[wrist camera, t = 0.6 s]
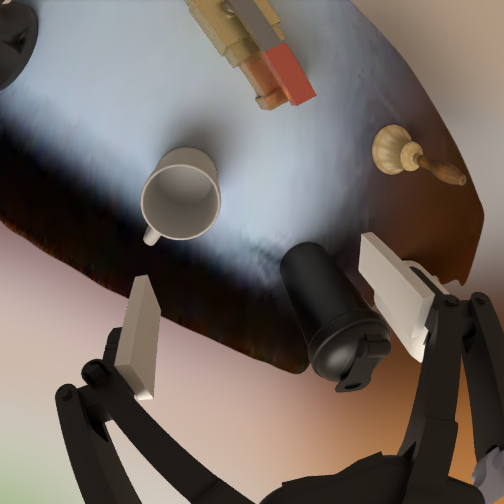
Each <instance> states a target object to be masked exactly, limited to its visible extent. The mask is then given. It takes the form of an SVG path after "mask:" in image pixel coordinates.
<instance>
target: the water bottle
mask: <svg viewBox="0 0 504 504" xmlns="http://www.w3.org/2000/svg"><path fill="white" fill-rule="evenodd" d="M280 273H281V276H282V278H283V281H284V284H285V286H286V289H287V292H288V294H289V297H290V300H291V302H292V305H293V308H294V311H295V313H296V316H297V319H298V321H299V324H300V327H301V330H302V332H303V335H304V338H305V341H306V343H307V346H308V356H309V360H310V362H311V365H312V368H313V370H314V371H315V373H316V374H317V375H319V376H321V377H323V378H325V379H327V380H329V381H333V382H339V384H338V385H337V386H336V388H335V391H336V392H350V391H357V390H361V389H363V388H364V387H366V386H367V385H368V384H369V382H370V381H371V374H372V372H373V370H374V368H376V367H377V366H378V365H379V363H380V362H381V361H382V360H383V358H384V357H385V356H387V355H388V354H389V352H390V350H391V344H390V342H389V340H390V329H389V327H388V325H387V324H386V322H385V321H384V319H383V318H382V317H381V315H380V314H378V313H377V312H375V311H373V309H372V308H371V307H370V305H369V304H368V303H367V302H366V300H365V299H364V298H363V296H362V295H361V294H360V293H359V291H358V290H357V289H356V287H355V286H354V285H353V284H352V282H351V281H350V280H349V279H348V277H347V276H346V275H345V274H344V272H343V271H342V270H341V269H340V267H339V266H338V265H337V264H336V263H335V261H334V260H333V259H332V258H331V256H330V255H329V254H328V253H327V252H326V250H325V249H324V248H323V247H322V246H320V245H318V244H316V243H310V242H308V243H302V244H299V245H296V246H294V247H293V248H291V249H290V250H289V251H288V252H287V253H286V254H285V255H284V257H283V259H282V261H281V264H280Z"/></svg>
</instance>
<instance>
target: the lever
mask: <svg viewBox="0 0 504 504" xmlns="http://www.w3.org/2000/svg"><path fill="white" fill-rule="evenodd" d="M224 10H225V11H226V12H227V13H228V14H230V15H236V16H237V17H238V18H239V20H240V21H241V23H242V24H243V25H244V27H245V28H246V30H247V31H248V33H249V34H250V35H251V37H252V38H253V40H254V41H255V43H256V44H257V46H258V47H259V49H260V50H261V52H262V53H263V54H261V56H262V57H263V59H264V61H265V62H266V64H267V65H268V67H269V68H270V70H271V72H272V73H273V75H274V76H275V78H276V80H277V81H278V83H279V85H280V86H281V88H282V90H283V91H284V93H285V95H286V96H287V98H288V100H289V101H290V103H291V105H294V106H297V105H299V104H301V103H303V102H305V101H307V100H309V99H311V98H313V97H315V96H317V95H316V93H315V92H314V90H313V88H312V86H311V84H310V83H309V81H308V79H307V77H306V76H305V74H304V72H303V70H302V69H301V67H300V65H299V64H298V62H297V60H296V59H295V57H294V55H293V54H292V52H291V51H290V49H289V47H288V46H287V44H286V43H283V42H282V41H281V39H280V38H279V36H278V35H277V33H276V32H275V30H274V29H273V27H272V26H271V24H270V23H269V21H268V20H267V18H266V17H265V16H264V14H263V13H262V11H261V10H260V9H259V7H258V6H257V4H256V3H255V2H254V0H225V2H224Z"/></svg>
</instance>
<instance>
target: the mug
mask: <svg viewBox="0 0 504 504" xmlns="http://www.w3.org/2000/svg"><path fill="white" fill-rule="evenodd" d="M220 206H221V195H220V190H219V184H218V178H217V171H216V167H215V165H214V163H213V161H212V160H211V158H210V157H209V156H208V155H207V154H205V153H204V152H202V151H200V150H198V149H195V148H190V147H183V148H177V149H175V150H172V151H171V152H169V153H167V154H166V155H165V156H164V157H163V158H162V159H161V160H160V162H159V163H158V165H157V167H156V168H155V169H154V171H153V172H152V174H151V175H150V177H149V178H148V180H147V181H146V183H145V185H144V187H143V190H142V194H141V209H142V213H143V216H144V218H145V220H146V221H147V223H148V224H149V226H148V228H147V230H146V232H145V235H144V241H145V243H146V244H148V245H151V246H152V245H154V244H155V243H156V242H157V240H158V239H159V238H160V236H161V235H162V236H164V237H167V238H170V239H175V240H187V239H192V238H195V237H197V236H199V235H201V234H203V233H204V232H206V231H207V230H208V229H209V228H210V227H211V226H212V225H213V223H214V222H215V221H216V219H217V217H218V214H219V211H220Z"/></svg>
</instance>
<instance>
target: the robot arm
mask: <svg viewBox="0 0 504 504" xmlns="http://www.w3.org/2000/svg"><path fill="white" fill-rule="evenodd" d="M4 1H5V0H0V91H1V90H3V89H4V88H6V87H7V86H9V85H10V84H11V83H12V82H13V81H14V80H15V79H16V78H17V77H18V75H19V74H20V73H21V72H22V70H23V69H24V67H25V65H26V64H27V62H28V60H29V58H30V56H31V54H32V52H33V49H34V46H35V43H36V39H37V33H38V21H37V17H36V14H35V12H34V11H33V10H32V9H31V8H30V7H28V6H26V5H24V4H21V3H8V4H2V3H3V2H4ZM359 272H360V273H361V274H362V275H363V277H364V278H365V279H366V280H367V282H368V283H369V284H370V285H371V287H372V288H373V289H374V291H375V292H376V293H377V294H378V296H379V297H380V298H381V300H382V301H383V302H384V304H385V305H386V306H387V307H388V309H389V310H390V311H391V313H392V314H393V315H394V317H395V318H396V319H397V321H398V322H399V324H400V325H401V326H402V328H403V329H404V330H405V332H406V333H407V335H408V336H409V337H410V339H411V338H414V337H416V336H418V335H421V334H422V332H423V329H424V326H425V327H426V328H427V330H428V333H427V335H426V338H425V340H424V343H423V345H425V349H424V355H423V361H422V367H421V373H420V377H419V383H418V387H417V392H416V396H415V400H414V405H413V408H412V413H411V416H410V420H409V424H408V427H407V431H406V434H405V437H404V440H403V443H402V445H401V447H400V449H399V451H398V453H397V455H384V456H383V455H382V452H378V453H376V454H373V455H371V456H368V457H366V458H363V459H360V460H358V461H357V462H355V463H353V464H352V465H350V466H349V467H347V468H345V469H344V470H342V471H341V472H339V473H337V474H334V475H325V476H307V477H303V478H299V479H295V480H291V481H287V482H282V487H280V488H278V489H276V490H274V491H273V492H271V493H270V494H269V495H267V496H266V497H265V498H264V499H263V500H262V501H261V502H260V503H259V504H493V503H494V502H495V501H497V500H499V499H500V498H501V497H503V496H504V333H503V330H502V327H501V325H500V322H499V320H498V317H497V315H496V312H495V310H494V308H493V305H492V303H491V300H490V299H489V297H488V296H487V295H485V294H484V293H481V292H474V293H473V294H472V296H471V298H470V300H462V301H460V300H459V299H458V298H457V297H455V296H454V295H451V294H444V293H443V292H442V291H441V290H440V289H439V288H438V287H437V286H436V285H435V284H434V283H433V282H432V281H430V279H429V278H428V277H427V276H426V275H425V274H424V273H423V272H422V271H421V270H419V269H417V268H416V267H414V266H411V267H408V266H407V265H406V264H405V263H404V262H403V261H402V260H401V259H400V258H399V257H398V256H397V255H396V254H395V253H394V252H393V251H392V250H391V249H390V248H389V247H387V246H386V245H385V244H384V243H383V242H382V241H381V240H380V239H379V238H378V237H377V236H376V235H375V234H374V233H372V232H369V233H364V234H361V248H360V260H359ZM160 313H161V309H160V307H159V304H158V302H157V299H156V297H155V294H154V292H153V289H152V286H151V284H150V281H149V278H148V276H147V275H144V276H138V277H135V280H134V284H133V287H132V291H131V295H130V299H129V303H128V306H127V310H126V314H125V318H124V323H123V327H119V328H113V330H112V331H111V332H110V334H109V336H108V339H107V345H106V347H105V351H104V355H103V359H102V360H101V359H94V360H91V361H89V362H88V363H86V364H85V365H84V367H83V369H82V372H81V375H82V378H83V380H84V381H85V382H86V383H87V384H88V385H86V386H83V387H81V388H76V387H75V386H74V385H72V384H64V385H62V386H61V387H60V388H59V389H58V390H57V392H56V395H55V400H56V407H57V412H58V416H59V421H60V425H61V430H62V434H63V438H64V441H65V445H66V449H67V452H68V456H69V459H70V462H71V466H72V469H73V471H74V474H75V478H76V480H77V483H78V486H79V489H80V491H81V494H82V497H83V499H84V501H85V504H142V502H141V501H140V499H139V497H138V495H137V493H136V492H135V490H134V488H133V486H132V484H131V482H130V480H129V478H128V476H127V474H126V472H125V470H124V467H123V465H122V463H121V461H120V459H119V456H118V454H117V452H116V450H115V447H114V445H113V442H112V440H111V438H110V435H109V433H108V430H107V427H106V425H105V422H107V421H110V420H114V421H115V422H116V424H117V425H118V426H119V428H120V429H121V430H122V431H123V433H124V434H125V435H126V436H127V437H128V439H129V440H130V441H131V442H132V443H133V445H134V446H135V447H136V448H137V449H138V450H139V451H140V453H141V454H142V455H143V456H144V457H145V458H146V459H147V460H148V461H149V463H150V464H151V465H152V466H153V467H154V468H155V469H156V470H157V471H158V472H159V473H160V474H161V475H162V476H163V477H164V478H165V479H166V480H167V481H168V482H169V483H170V484H171V485H172V486H173V487H174V488H175V489H176V490H177V491H179V492H180V494H182V495H183V496H184V497H185V498H186V499H187V500H188V501H189V502H190V503H191V504H255V503H254V502H252V501H251V500H249V499H248V498H246V497H245V496H243V495H242V494H241V493H239V492H238V491H236V490H235V489H234V488H232V487H231V486H230V485H228V484H227V483H226V482H224V481H223V480H221V479H220V478H218V477H217V476H216V475H214V474H213V473H212V472H210V471H209V470H208V469H207V468H206V467H204V466H203V465H202V464H201V463H200V462H198V461H197V460H196V459H195V458H194V457H193V456H192V455H190V454H189V453H188V452H187V451H186V450H185V449H184V448H182V447H181V446H180V445H179V444H178V443H177V442H176V441H175V440H174V439H173V438H172V437H171V436H170V435H169V434H168V433H167V432H166V431H165V430H163V428H161V426H160V425H159V424H158V423H157V422H156V421H155V420H154V419H153V418H152V417H151V416H150V415H149V414H148V413H147V412H146V411H145V410H144V409H143V408H142V407H141V406H140V404H139V403H138V402H137V401H136V400H135V399H134V394H135V395H136V396H137V398H138V399H139V400H143V399H144V400H145V399H153V398H154V381H155V366H156V354H157V342H158V332H159V322H160ZM461 354H462V359H463V364H464V369H465V374H466V380H467V385H468V392H469V399H470V406H471V415H472V424H473V436H474V448H475V455H476V460H477V464H476V466H475V470H474V472H473V474H472V480H473V481H474V484H473V485H471V484H468V483H465V482H463V481H460V480H458V479H455V478H452V477H450V476H448V473H449V469H450V465H451V461H452V457H453V452H454V448H455V443H456V437H457V432H458V423H457V422H455V412H456V406H457V398H458V389H459V379H460V365H461Z"/></svg>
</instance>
